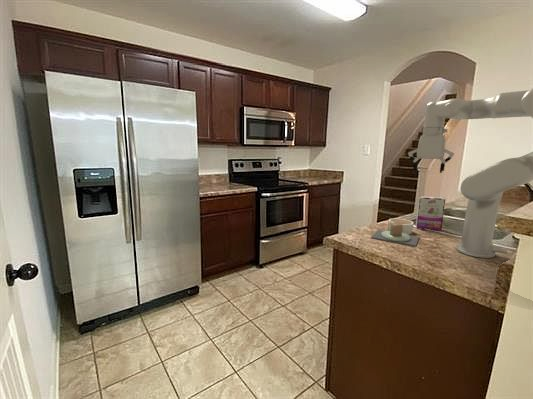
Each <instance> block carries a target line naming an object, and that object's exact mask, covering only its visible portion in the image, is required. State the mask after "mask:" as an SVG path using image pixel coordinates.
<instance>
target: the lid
mask: <svg viewBox="0 0 533 399" xmlns="http://www.w3.org/2000/svg"><path fill="white" fill-rule="evenodd" d="M402 230H403V225H402V224H399V223H391V227H390V231H388V230H383V231H384V232H382V234H381V236H382V237H383V238H385V239H388V240H392V241H398V242H405V241H409V240H410V236H409V235H410V234H409V235H408V234H406V233H402Z"/></svg>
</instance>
